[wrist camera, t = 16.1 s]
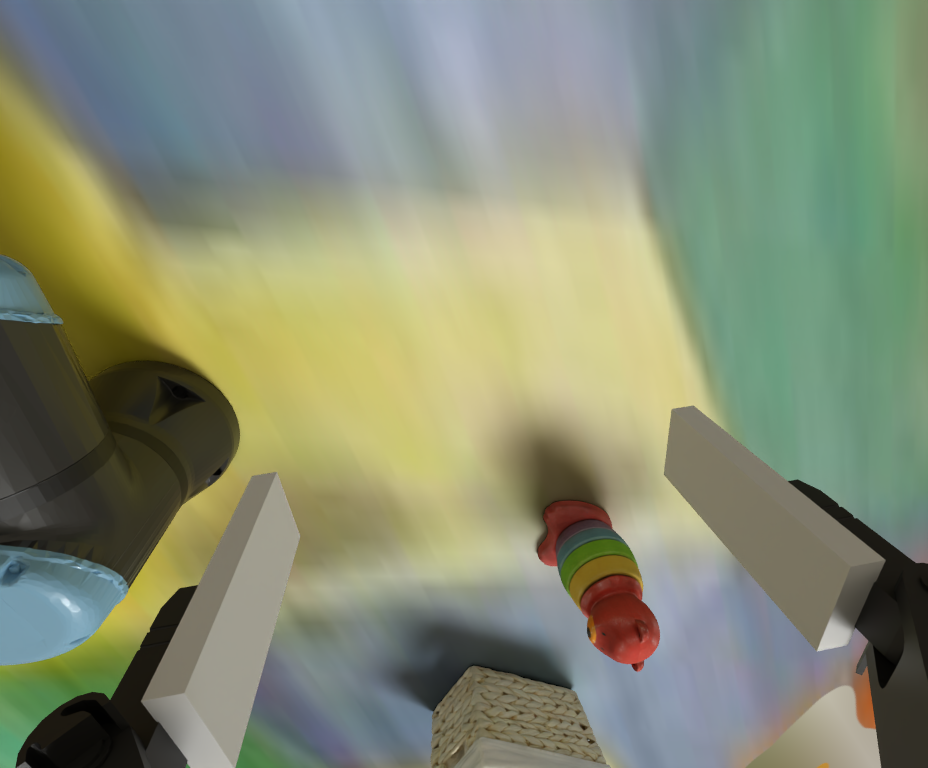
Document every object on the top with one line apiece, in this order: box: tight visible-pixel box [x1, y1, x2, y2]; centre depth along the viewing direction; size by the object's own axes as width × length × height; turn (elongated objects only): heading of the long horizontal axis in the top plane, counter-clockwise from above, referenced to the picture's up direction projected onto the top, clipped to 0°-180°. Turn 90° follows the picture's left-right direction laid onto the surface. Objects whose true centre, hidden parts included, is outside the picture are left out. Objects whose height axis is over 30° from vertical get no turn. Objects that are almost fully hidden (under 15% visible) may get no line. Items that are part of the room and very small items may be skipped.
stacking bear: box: [538, 501, 660, 672], centre depth 53 cm, size 11×10×18 cm
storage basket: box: [431, 666, 611, 768], centre depth 69 cm, size 24×16×15 cm
